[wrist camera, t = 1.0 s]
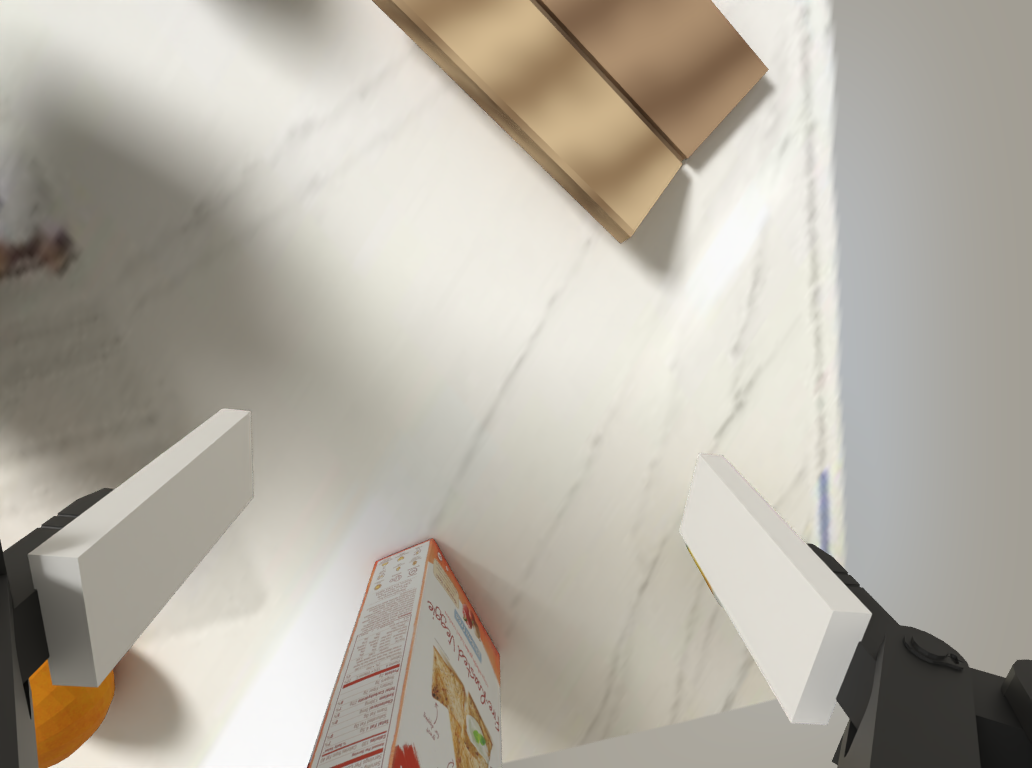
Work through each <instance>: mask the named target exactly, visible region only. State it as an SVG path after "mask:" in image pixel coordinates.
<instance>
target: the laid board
mask: <svg viewBox="0 0 1032 768" xmlns="http://www.w3.org/2000/svg"><path fill="white" fill-rule="evenodd" d="M530 1H531V2H532V3H533V4H534V5H535V7H536V8H537V9H538V10H539V11H540V12H541V13H542V14H543V15H544V16H545V17H546V18H547V19H548V20H549V22H550V23H551V24H552V25H553V26H554V27H555V28H556V29H557V30H558V31H559V32H560V33H561V34H562V35H563V37H564V38H565V39H566V40H567V41H568V42H569V43H570V44H571V45H572V46H573V47H574V48H575V49H576V50H577V52H578V53H579V54H580V55H581V56H582V57H583V58H584V59H585V60H586V61H587V62H588V63H589V64H590V65H591V67H592V68H593V69H594V70H595V71H596V72H597V73H598V74H599V75H600V76H601V77H602V78H603V79H604V80H605V82H606V83H607V84H608V85H609V86H610V87H611V88H612V89H613V90H614V91H615V92H616V93H617V94H618V95H619V97H620V98H621V99H622V100H623V101H624V102H625V103H626V104H627V105H628V106H629V107H630V108H631V109H632V110H633V112H634V113H635V114H636V115H637V116H638V117H639V118H640V119H641V120H642V121H643V122H644V123H645V124H646V125H647V127H648V128H649V129H650V130H651V131H652V132H653V133H654V134H655V135H656V136H657V137H658V138H659V139H660V140H661V142H662V143H663V144H664V145H665V146H666V147H667V148H668V149H669V150H670V151H671V152H672V153H673V154H674V155H675V157H676V158H677V159H678V160H679V161H680V162H682V161H683V160H684V159H687V158H689V157H690V156H691V155H692V153H693V152H694V151H695V150H696V149H697V148H698V147H699V146H700V145H701V144H702V142H703V141H704V140H705V139H706V138H707V137H708V136H709V135H710V134H711V133H712V131H713V130H714V129H715V128H716V127H717V126H718V125H719V124H720V123H721V122H722V120H723V119H724V118H725V117H726V116H727V115H728V114H729V113H730V112H731V110H732V109H733V108H734V107H735V106H736V105H737V104H738V103H739V102H740V101H741V99H742V98H743V97H744V96H745V95H746V94H747V93H748V92H749V91H750V90H751V88H752V87H753V86H754V85H755V84H756V83H757V82H758V81H759V80H760V79H761V77H762V76H763V75H764V74H765V73H766V72H767V71H768V70H769V69H768V68H767V67H766V66H765V65H764V63H763V62H762V61H761V60H760V59H759V57H758V56H757V55H756V54H755V53H754V51H753V50H752V49H751V48H750V47H749V45H748V44H747V43H746V42H745V41H744V39H743V38H742V37H741V36H740V35H739V33H738V32H737V31H736V30H735V29H734V27H733V26H732V25H731V24H730V23H729V21H728V20H727V19H726V18H725V17H724V15H723V14H722V13H721V12H720V10H719V9H718V8H717V7H716V6H715V4H714V3H713V2H712V1H711V0H530Z"/></svg>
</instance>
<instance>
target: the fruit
mask: <svg viewBox="0 0 1032 768" xmlns="http://www.w3.org/2000/svg"><path fill="white" fill-rule="evenodd" d="M29 682H30V687H31V691H32V701H33V712H34V723H35V733H36V744H37V755H38V766H39V768H48V767H50V766H52V765H55V764H57V763H59V762H61V761H62V760H64V759H65V758H67V757H69V756H70V755H71V754H72V753H73V752H75V751H76V750H77V749H78V748H79V747H80V746H81V745H82V744H83V743H84V742H85V741H87V740H88V739H89V738H90V737H91V736H92V734H93V733H94V732H95V731H96V730H97V729H98V728H99V726H100V724H101V723H102V721H103V720H104V718H105V716H106V714H107V711H108V709H109V706H110V704H111V701H112V699H113V696H114V690H115V682H114V672H113V669H112V671H111V672H110V673H109V674H108V676H107V677H106V678H105V679H104V680H103V682H102V683H101V684H100V685H99V687H81V686H62V685H52V680H51V675H50V669H49V664H48V659H47V660H46V661H45V662H44V663H43V664H42V665H41V666H40V667H39V668H38V669H37V670H36V671H35V672H34V673H33V674H32V675H31V676H30V677H29Z"/></svg>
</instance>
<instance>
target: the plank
mask: <svg viewBox="0 0 1032 768" xmlns="http://www.w3.org/2000/svg"><path fill="white" fill-rule="evenodd" d="M372 1H373V2H374V3H375V4H376V5H377V6H378V7H379V8H380V9H381V10H382V11H383V12H384V13H385V14H386V15H387V16H388V17H389V18H390V19H391V20H392V21H394V22H395V23H396V24H397V25H398V26H399V27H400V28H401V29H402V30H403V31H404V32H405V33H406V34H407V35H408V36H409V37H410V38H411V39H412V40H413V41H414V42H415V43H416V44H417V45H418V46H419V47H420V48H421V49H422V50H423V51H424V52H425V53H426V54H427V55H428V56H429V57H430V58H431V59H432V60H433V61H434V62H435V63H436V64H437V65H438V66H439V67H440V68H442V69H443V70H444V71H445V72H446V73H447V74H448V75H449V76H450V77H451V78H452V79H453V80H454V81H455V82H456V83H457V84H458V85H459V86H460V87H461V88H462V89H463V90H464V91H465V92H466V93H467V94H468V95H469V96H470V97H471V98H472V99H473V100H474V101H475V102H476V103H477V104H478V105H479V106H480V107H481V108H482V109H483V110H484V111H485V112H486V113H487V114H489V115H490V116H491V117H492V118H493V119H494V120H495V121H496V122H497V123H498V124H499V125H500V126H501V127H502V128H503V129H504V130H505V131H506V132H507V133H508V134H509V135H510V136H511V137H512V138H513V139H514V140H515V141H516V142H517V143H518V144H519V145H520V146H521V147H522V148H523V149H524V150H525V151H526V152H527V153H528V154H529V155H530V156H531V157H532V158H533V159H534V160H535V161H537V162H538V163H539V164H540V165H541V166H542V167H543V168H544V169H545V170H546V171H547V172H548V173H549V174H550V175H551V176H552V177H553V178H554V179H555V180H556V181H557V182H558V183H559V184H560V185H561V186H562V187H563V188H564V189H565V190H566V191H567V192H568V193H569V194H570V195H571V196H572V197H573V198H574V199H575V200H576V201H577V202H578V203H579V204H580V205H581V206H582V207H584V208H585V209H586V210H587V211H588V212H589V213H590V214H591V215H592V216H593V217H594V218H595V219H596V220H597V221H598V222H599V223H600V224H601V225H602V226H603V227H604V228H605V229H606V230H607V231H608V232H609V233H610V234H611V235H612V236H613V237H614V238H615V239H616V240H617V241H618V242H619V243H620V244H621V243H622V242H624V241H625V240H627V239H629V238H630V237H631V236H632V235H633V234H634V232H635V231H636V229H637V228H638V226H639V225H640V224H641V222H642V221H643V219H644V218H645V217H646V215H647V214H648V212H649V211H650V209H651V208H652V207H653V205H654V204H655V202H656V201H657V200H658V198H659V197H660V195H661V194H662V192H663V191H664V190H665V188H666V187H667V185H668V184H669V183H670V181H671V180H672V178H673V177H674V176H675V174H676V173H677V171H678V170H679V168H680V167H681V166H682V163H681V162H680V161H679V160H678V159H677V158H676V157H675V155H674V154H673V153H672V152H671V151H670V150H669V149H668V148H667V147H666V146H665V145H664V144H663V143H662V142H661V140H660V139H659V138H658V137H657V136H656V135H655V134H654V133H653V132H652V131H651V130H650V129H649V128H648V127H647V125H646V124H645V123H644V122H643V121H642V120H641V119H640V118H639V117H638V116H637V115H636V114H635V113H634V112H633V110H632V109H631V108H630V107H629V106H628V105H627V104H626V103H625V102H624V101H623V100H622V99H621V98H620V97H619V95H618V94H617V93H616V92H615V91H614V90H613V89H612V88H611V87H610V86H609V85H608V84H607V83H606V82H605V80H604V79H603V78H602V77H601V76H600V75H599V74H598V73H597V72H596V71H595V70H594V69H593V68H592V67H591V65H590V64H589V63H588V62H587V61H586V60H585V59H584V58H583V57H582V56H581V55H580V54H579V53H578V52H577V50H576V49H575V48H574V47H573V46H572V45H571V44H570V43H569V42H568V41H567V40H566V39H565V38H564V37H563V35H562V34H561V33H560V32H559V31H558V30H557V29H556V28H555V27H554V26H553V25H552V24H551V23H550V22H549V20H548V19H547V18H546V17H545V16H544V15H543V14H542V13H541V12H540V11H539V10H538V9H537V8H536V7H535V5H534V4H533V3H532V2H531V1H530V0H372Z"/></svg>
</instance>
